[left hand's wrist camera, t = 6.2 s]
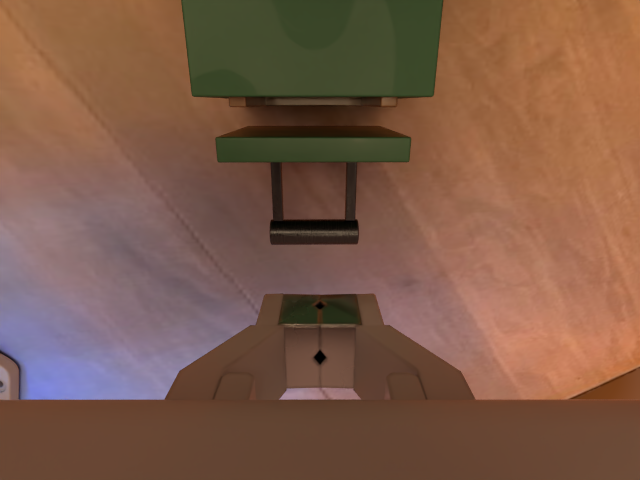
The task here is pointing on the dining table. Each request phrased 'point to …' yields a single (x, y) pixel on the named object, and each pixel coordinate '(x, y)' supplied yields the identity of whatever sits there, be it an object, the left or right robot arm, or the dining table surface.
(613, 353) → the dining table surface
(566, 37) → the dining table surface
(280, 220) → the drawer
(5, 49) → the dining table surface
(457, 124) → the dining table surface
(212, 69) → the green drawer cabinet
